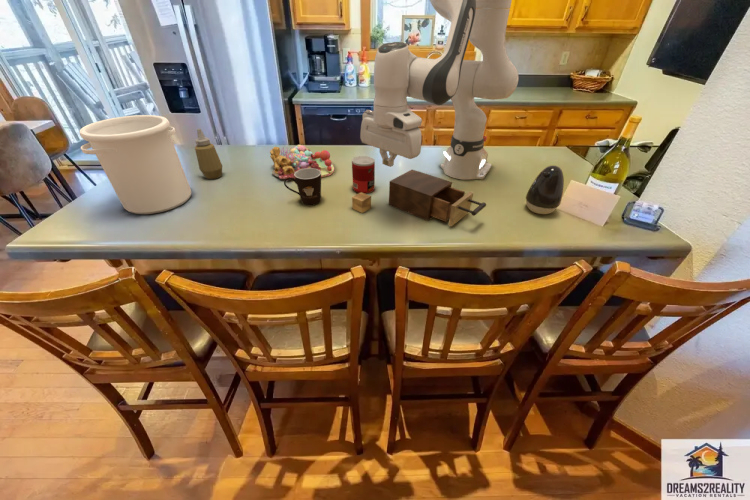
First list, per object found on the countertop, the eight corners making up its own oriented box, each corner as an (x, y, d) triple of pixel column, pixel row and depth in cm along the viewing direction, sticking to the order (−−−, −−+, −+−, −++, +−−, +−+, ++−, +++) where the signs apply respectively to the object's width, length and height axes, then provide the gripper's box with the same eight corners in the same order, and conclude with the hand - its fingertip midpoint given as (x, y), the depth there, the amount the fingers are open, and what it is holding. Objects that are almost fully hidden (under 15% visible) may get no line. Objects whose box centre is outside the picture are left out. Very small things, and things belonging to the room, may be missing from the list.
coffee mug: (328, 197, 111) (325, 170, 105) (316, 208, 105) (313, 180, 99) (298, 192, 114) (294, 165, 108) (285, 203, 108) (280, 175, 102)
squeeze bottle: (197, 178, 123) (181, 130, 112) (213, 170, 129) (199, 124, 118) (214, 182, 120) (198, 133, 110) (229, 174, 126) (216, 127, 116)
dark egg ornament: (515, 208, 105) (529, 164, 96) (533, 200, 110) (548, 157, 101) (544, 221, 99) (561, 176, 90) (562, 212, 104) (580, 167, 95)
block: (361, 203, 107) (361, 192, 105) (371, 208, 105) (371, 196, 103) (352, 208, 105) (351, 196, 102) (362, 213, 102) (362, 201, 100)
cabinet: (448, 205, 107) (452, 182, 102) (428, 220, 99) (431, 195, 94) (410, 191, 115) (412, 169, 110) (388, 204, 107) (389, 181, 102)
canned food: (372, 194, 113) (372, 165, 106) (350, 192, 114) (349, 163, 107) (376, 185, 119) (376, 156, 112) (355, 183, 120) (354, 155, 113)
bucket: (137, 227, 95) (93, 143, 80) (102, 207, 105) (57, 128, 90) (213, 194, 112) (188, 120, 97) (177, 179, 122) (149, 110, 107)
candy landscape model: (281, 187, 117) (276, 163, 112) (264, 165, 133) (259, 143, 128) (342, 173, 127) (341, 150, 122) (319, 155, 144) (317, 134, 138)
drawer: (485, 217, 99) (490, 198, 95) (468, 233, 92) (473, 212, 88) (430, 197, 109) (433, 179, 105) (411, 210, 102) (413, 191, 98)
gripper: (354, 110, 89) (356, 158, 97) (411, 125, 77) (407, 178, 86) (371, 106, 92) (370, 153, 101) (427, 120, 81) (421, 172, 89)
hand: (387, 165), depth 93 cm, fingers closed
